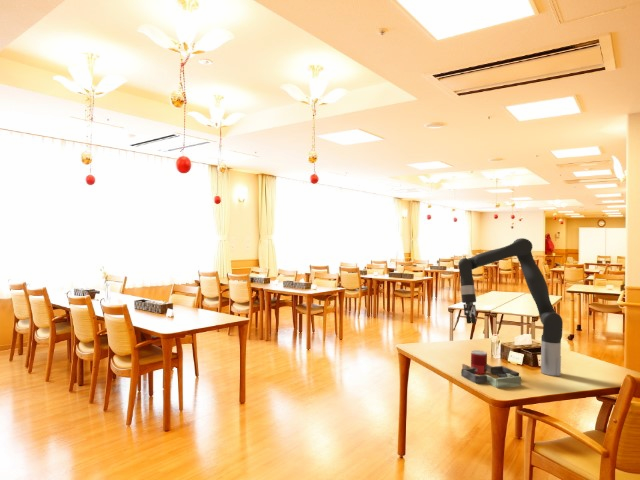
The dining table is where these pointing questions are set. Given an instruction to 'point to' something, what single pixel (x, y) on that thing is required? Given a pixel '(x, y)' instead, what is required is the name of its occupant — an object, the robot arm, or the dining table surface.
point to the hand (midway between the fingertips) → (471, 323)
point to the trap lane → (506, 377)
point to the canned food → (479, 362)
